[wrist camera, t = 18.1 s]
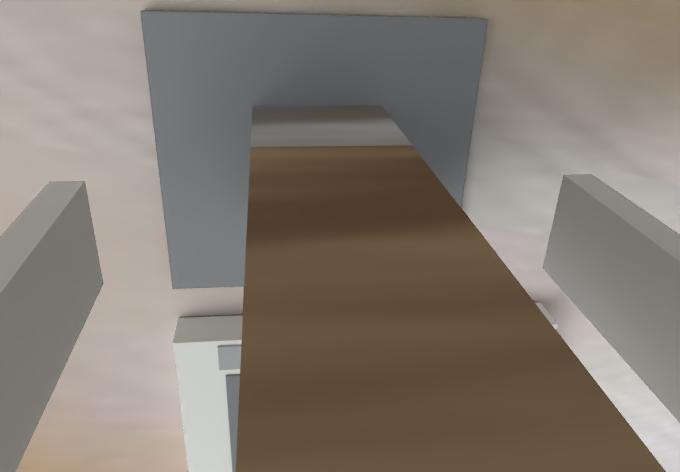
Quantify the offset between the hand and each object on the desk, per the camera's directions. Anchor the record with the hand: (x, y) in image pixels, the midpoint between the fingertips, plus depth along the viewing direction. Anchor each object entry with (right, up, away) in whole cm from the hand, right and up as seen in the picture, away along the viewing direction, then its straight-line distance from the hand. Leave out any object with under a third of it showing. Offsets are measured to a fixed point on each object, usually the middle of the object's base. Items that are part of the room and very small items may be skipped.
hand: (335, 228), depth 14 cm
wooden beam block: (-1, +2, +4) cm, 5 cm away
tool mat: (-1, +2, +5) cm, 5 cm away
